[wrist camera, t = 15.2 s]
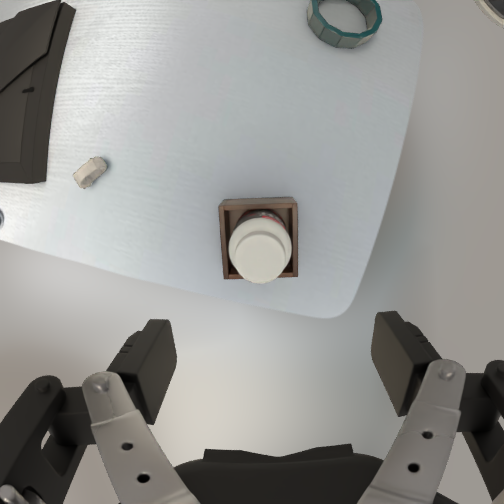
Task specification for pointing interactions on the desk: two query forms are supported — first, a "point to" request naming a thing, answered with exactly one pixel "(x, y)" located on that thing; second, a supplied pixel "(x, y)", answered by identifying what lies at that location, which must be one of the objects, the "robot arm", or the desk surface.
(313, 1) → the teal ring
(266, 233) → the pill bottle
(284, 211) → the holder
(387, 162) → the desk surface
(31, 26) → the dark grey flat block
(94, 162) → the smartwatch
